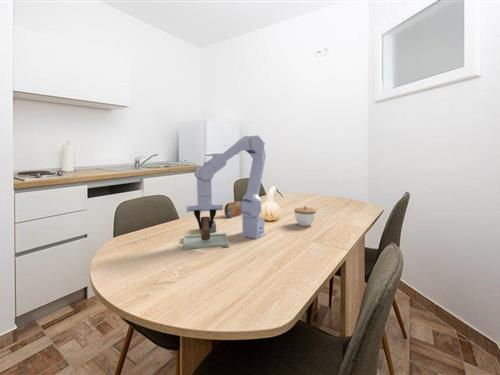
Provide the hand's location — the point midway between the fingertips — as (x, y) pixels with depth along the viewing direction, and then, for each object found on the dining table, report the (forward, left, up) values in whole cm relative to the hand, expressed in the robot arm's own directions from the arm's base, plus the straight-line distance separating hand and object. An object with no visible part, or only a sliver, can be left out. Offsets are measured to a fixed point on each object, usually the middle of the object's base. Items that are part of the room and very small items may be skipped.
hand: (205, 228), depth 117 cm
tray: (0, 0, -6) cm, 6 cm away
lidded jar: (-22, -49, -7) cm, 55 cm away
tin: (+19, -43, -7) cm, 48 cm away
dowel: (0, 0, -5) cm, 5 cm away
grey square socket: (+11, -12, -6) cm, 18 cm away
